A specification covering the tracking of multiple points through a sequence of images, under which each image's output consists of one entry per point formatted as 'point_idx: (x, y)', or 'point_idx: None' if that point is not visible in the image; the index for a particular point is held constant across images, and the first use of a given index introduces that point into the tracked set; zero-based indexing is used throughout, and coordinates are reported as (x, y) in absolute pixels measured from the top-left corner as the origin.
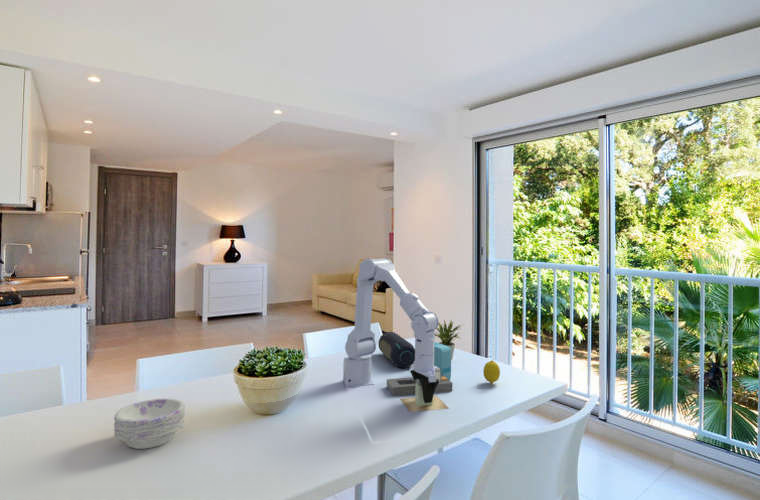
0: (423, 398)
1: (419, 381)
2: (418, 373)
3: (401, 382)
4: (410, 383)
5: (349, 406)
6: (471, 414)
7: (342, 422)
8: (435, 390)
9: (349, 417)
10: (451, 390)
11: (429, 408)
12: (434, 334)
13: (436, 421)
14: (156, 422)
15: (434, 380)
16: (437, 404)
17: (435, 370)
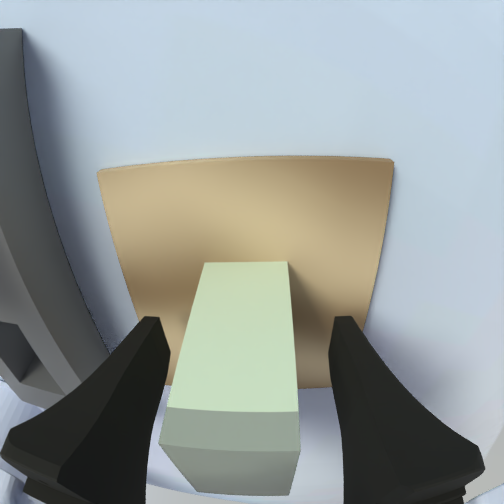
0: (335, 382)
1: (263, 492)
2: (123, 499)
3: (10, 354)
4: None
5: None
6: (495, 47)
7: (327, 476)
8: (23, 172)
9: (303, 472)
10: (12, 35)
11: (347, 300)
12: None
13: (482, 295)
14: None
15: (499, 498)
16: (290, 225)
17: None
